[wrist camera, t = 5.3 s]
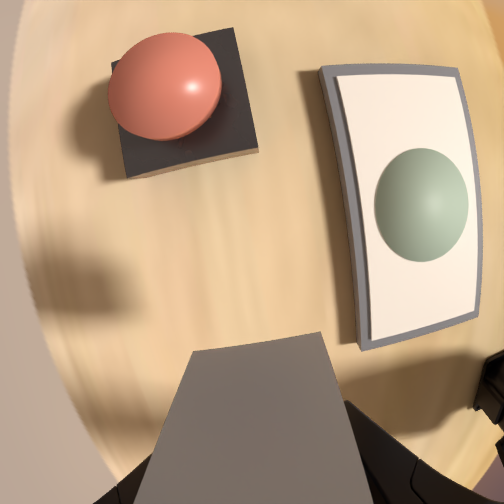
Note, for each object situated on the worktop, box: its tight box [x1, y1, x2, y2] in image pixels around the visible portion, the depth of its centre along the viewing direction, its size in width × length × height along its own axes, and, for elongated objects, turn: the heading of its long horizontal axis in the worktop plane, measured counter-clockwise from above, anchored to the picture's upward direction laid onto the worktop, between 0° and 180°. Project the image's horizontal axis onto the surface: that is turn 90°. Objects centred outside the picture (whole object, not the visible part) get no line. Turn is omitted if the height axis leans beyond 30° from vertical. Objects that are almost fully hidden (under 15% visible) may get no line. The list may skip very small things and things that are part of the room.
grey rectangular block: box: [134, 332, 373, 504], centre depth 6 cm, size 4×4×7 cm
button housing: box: [111, 27, 259, 178], centre depth 16 cm, size 7×7×3 cm
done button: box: [108, 33, 222, 141], centre depth 13 cm, size 5×5×4 cm
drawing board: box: [318, 64, 483, 352], centre depth 17 cm, size 10×18×2 cm, turn 11°
